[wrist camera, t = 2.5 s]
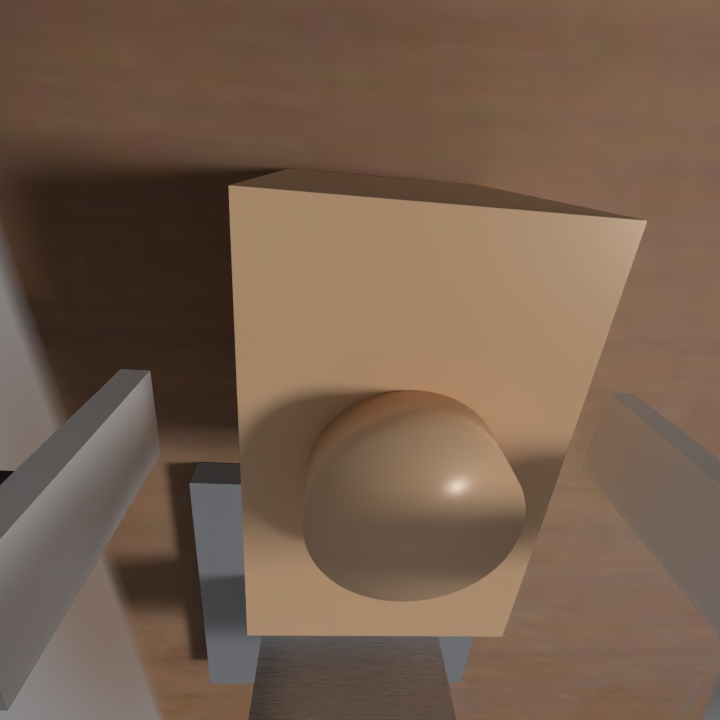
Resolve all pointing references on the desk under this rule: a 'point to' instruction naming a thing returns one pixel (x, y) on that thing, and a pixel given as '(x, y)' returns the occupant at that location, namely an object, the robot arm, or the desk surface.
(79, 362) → the desk surface
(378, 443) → the tan block with dome
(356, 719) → the grey square plate
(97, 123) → the desk surface
